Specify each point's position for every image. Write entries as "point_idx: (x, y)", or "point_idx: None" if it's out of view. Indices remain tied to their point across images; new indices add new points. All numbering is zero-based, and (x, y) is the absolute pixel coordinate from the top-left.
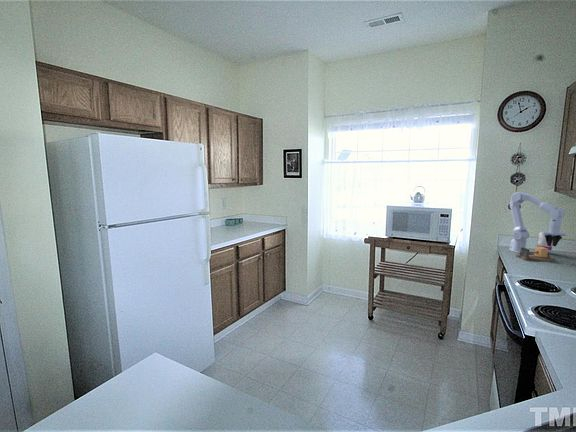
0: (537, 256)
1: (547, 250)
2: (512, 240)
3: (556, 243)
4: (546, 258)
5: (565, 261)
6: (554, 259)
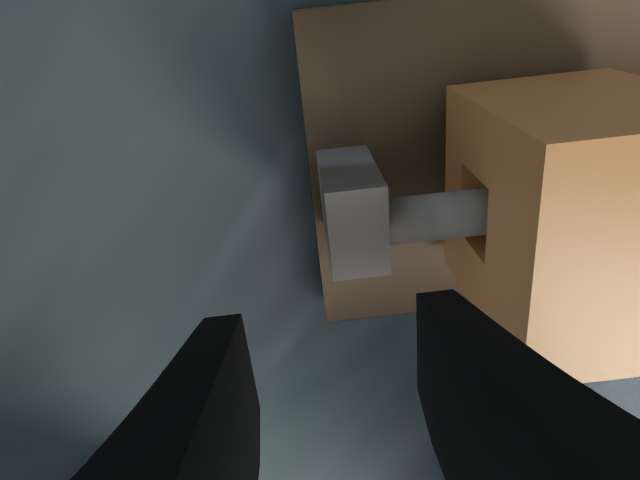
0: None
1: (542, 124)
2: None
3: (194, 389)
4: (469, 51)
5: (43, 78)
6: (319, 8)
